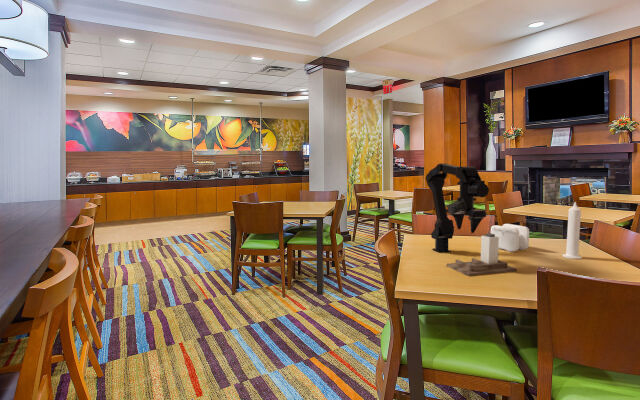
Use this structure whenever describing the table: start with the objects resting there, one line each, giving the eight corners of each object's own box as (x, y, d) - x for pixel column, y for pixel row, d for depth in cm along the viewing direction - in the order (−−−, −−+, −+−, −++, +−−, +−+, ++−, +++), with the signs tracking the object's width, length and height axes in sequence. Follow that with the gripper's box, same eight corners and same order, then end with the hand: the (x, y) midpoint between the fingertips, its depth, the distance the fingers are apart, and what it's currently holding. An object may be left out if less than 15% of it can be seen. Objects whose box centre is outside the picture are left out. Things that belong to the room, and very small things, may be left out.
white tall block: (480, 264, 150) (481, 233, 148) (489, 263, 151) (490, 232, 150) (488, 267, 145) (489, 235, 144) (497, 266, 147) (498, 234, 146)
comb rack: (446, 266, 151) (446, 259, 151) (491, 262, 157) (491, 255, 157) (468, 275, 138) (468, 268, 138) (516, 271, 143) (517, 263, 143)
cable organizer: (530, 251, 176) (531, 227, 175) (515, 253, 171) (516, 229, 170) (503, 245, 189) (504, 223, 188) (488, 247, 185) (489, 224, 184)
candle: (579, 256, 166) (583, 201, 163) (583, 259, 159) (586, 203, 157) (561, 254, 169) (564, 200, 166) (564, 258, 162) (567, 202, 160)
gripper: (438, 194, 165) (437, 228, 166) (464, 198, 147) (463, 236, 148) (459, 193, 167) (458, 227, 169) (487, 197, 149) (486, 234, 151)
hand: (465, 231), depth 159 cm, fingers open, 9 cm apart
